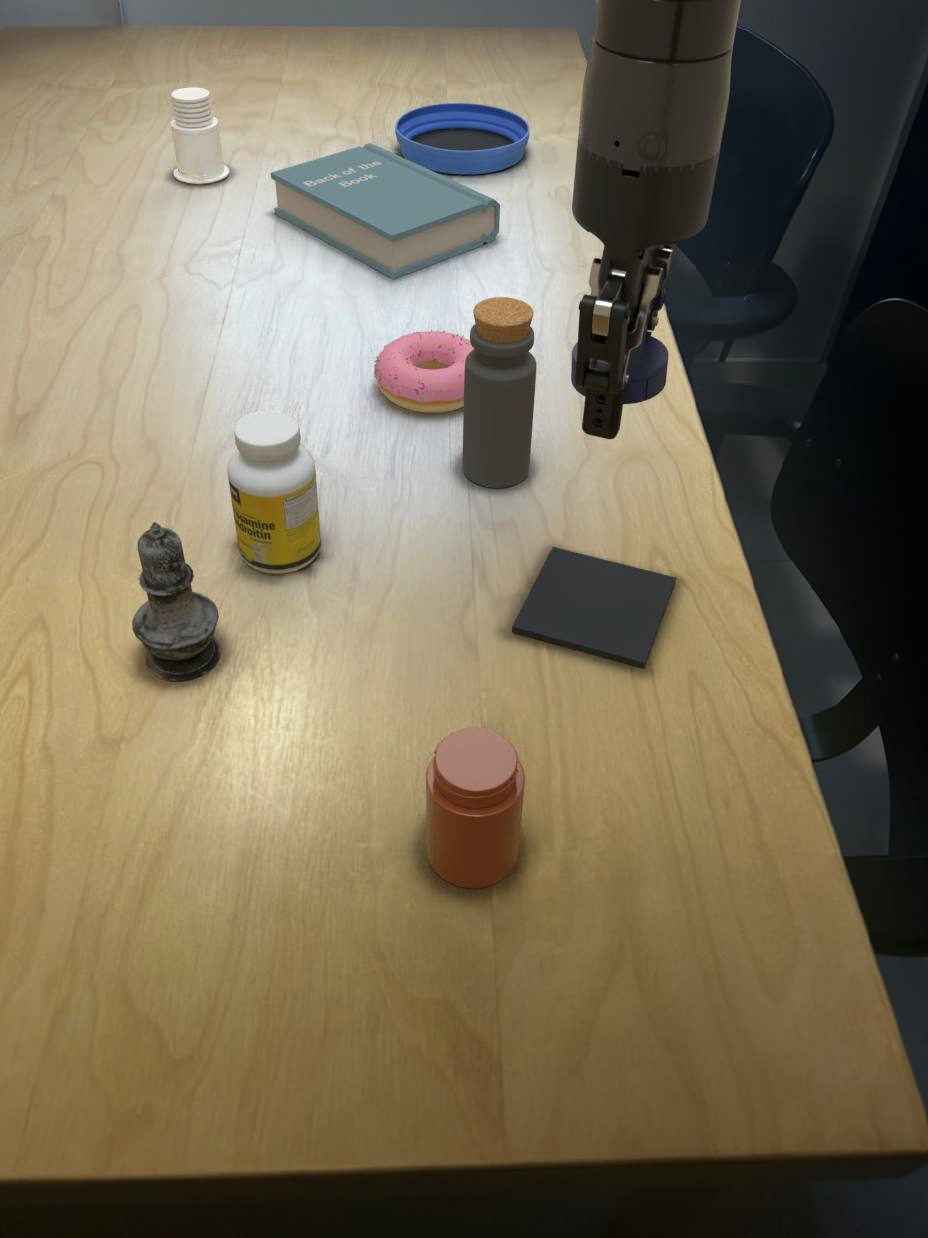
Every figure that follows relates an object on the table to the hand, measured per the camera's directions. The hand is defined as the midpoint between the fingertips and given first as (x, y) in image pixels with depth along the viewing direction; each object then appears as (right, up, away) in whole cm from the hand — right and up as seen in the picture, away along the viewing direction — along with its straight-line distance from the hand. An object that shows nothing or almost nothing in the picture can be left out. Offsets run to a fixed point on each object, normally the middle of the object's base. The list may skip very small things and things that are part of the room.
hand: (613, 406), depth 70 cm
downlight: (-43, +44, +73) cm, 96 cm away
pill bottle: (-24, -8, +18) cm, 31 cm away
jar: (-9, -27, -3) cm, 29 cm away
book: (-19, +33, +63) cm, 74 cm away
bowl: (-10, +50, +81) cm, 95 cm away
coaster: (0, -13, +14) cm, 19 cm away
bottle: (-7, -1, +27) cm, 27 cm away
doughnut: (-13, +8, +36) cm, 39 cm away
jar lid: (0, +2, -2) cm, 3 cm away
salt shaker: (-29, -16, +9) cm, 35 cm away
